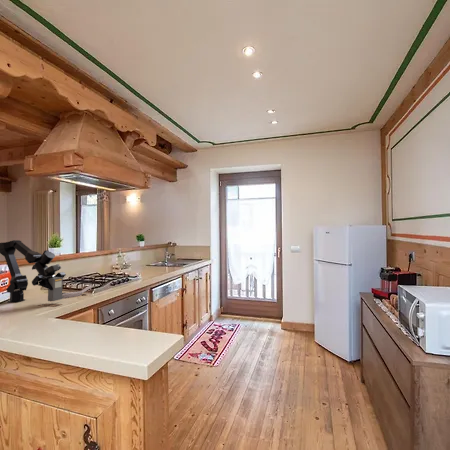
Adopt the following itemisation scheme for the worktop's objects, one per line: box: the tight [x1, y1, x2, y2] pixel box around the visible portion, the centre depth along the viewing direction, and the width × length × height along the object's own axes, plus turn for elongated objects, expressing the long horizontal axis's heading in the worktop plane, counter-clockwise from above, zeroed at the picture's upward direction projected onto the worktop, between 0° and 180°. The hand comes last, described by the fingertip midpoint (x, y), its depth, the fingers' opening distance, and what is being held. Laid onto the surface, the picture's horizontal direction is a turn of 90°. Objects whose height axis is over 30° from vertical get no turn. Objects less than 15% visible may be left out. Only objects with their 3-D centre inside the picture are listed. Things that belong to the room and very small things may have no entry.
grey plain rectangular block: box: [47, 277, 64, 302], centre depth 159 cm, size 4×6×13 cm
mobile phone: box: [61, 284, 94, 300], centre depth 181 cm, size 6×6×25 cm
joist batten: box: [37, 302, 63, 308], centre depth 155 cm, size 12×5×1 cm, turn 76°
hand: (57, 288), depth 159 cm, fingers closed on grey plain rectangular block, 6 cm apart
